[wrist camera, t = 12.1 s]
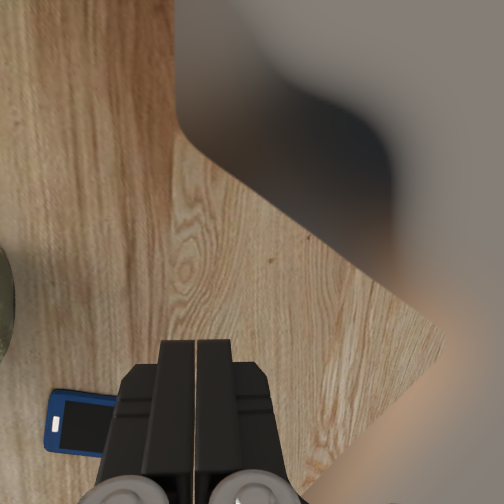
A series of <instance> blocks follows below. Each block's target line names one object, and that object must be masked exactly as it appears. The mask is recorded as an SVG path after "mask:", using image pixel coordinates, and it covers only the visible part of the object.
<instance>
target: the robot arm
mask: <svg viewBox="0 0 504 504" xmlns="http://www.w3.org/2000/svg"><path fill="white" fill-rule="evenodd" d="M194 425H195V340H162V341H161V344H160V351H159V358H158V364H135V366H134V367H133V368H132V369H131V370H130V371H129V372H128V374H127V375H126V376H125V377H124V378H123V379H122V380H121V384H120V388H119V392H118V396H117V403H116V404H115V408H114V412H113V419H112V420H111V424H110V427H109V431H108V435H107V439H106V443H105V447H104V451H103V455H102V459H101V463H100V467H99V471H98V474H97V478H96V482H95V485H94V487H93V488H92V489H90V490H89V491H88V492H87V493H86V494H85V495H84V496H83V497H82V498H81V499H80V500H79V502H78V503H77V504H193V467H194ZM195 504H308V503H307V502H306V501H305V500H304V499H302V498H301V497H300V496H299V495H298V494H297V493H296V491H295V490H294V489H293V487H292V486H291V484H290V482H289V480H288V477H287V474H286V470H285V465H284V460H283V455H282V450H281V445H280V440H279V435H278V430H277V425H276V420H275V415H274V413H273V405H272V400H271V398H270V390H269V385H268V380H267V376H266V375H265V374H264V373H263V372H262V370H261V369H260V368H259V367H258V366H257V364H256V363H255V362H232V353H231V343H230V339H212V340H197V386H196V435H195Z"/></svg>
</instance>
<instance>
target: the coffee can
mask: <svg viewBox="0 0 504 504" xmlns="http://www.w3.org/2000/svg"><path fill="white" fill-rule="evenodd" d="M14 319H15V290H14V282H13V277H12V272H11V269H10V265H9V262H8V260H7V257H6V255H5V253H4V251H3V250H2V248H1V247H0V363H1V361H2V360H3V358H4V356H5V354H6V352H7V350H8V347H9V344H10V341H11V337H12V333H13V328H14Z"/></svg>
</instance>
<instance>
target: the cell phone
mask: <svg viewBox="0 0 504 504" xmlns="http://www.w3.org/2000/svg"><path fill="white" fill-rule="evenodd" d="M116 403H117V397H112V396H105V395H97V394H90V393H82V392H75V391H67V390H54V391H53V392H52V393H51V395H50V397H49V402H48V410H47V419H46V427H45V435H44V448H45V449H46V450H47V451H49V452H55V453H64V454H73V455H82V456H91V457H100V458H102V455H103V451H104V447H105V443H106V439H107V435H108V431H109V427H110V424H111V420H112V419H113V412H114V408H115V404H116Z"/></svg>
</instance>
